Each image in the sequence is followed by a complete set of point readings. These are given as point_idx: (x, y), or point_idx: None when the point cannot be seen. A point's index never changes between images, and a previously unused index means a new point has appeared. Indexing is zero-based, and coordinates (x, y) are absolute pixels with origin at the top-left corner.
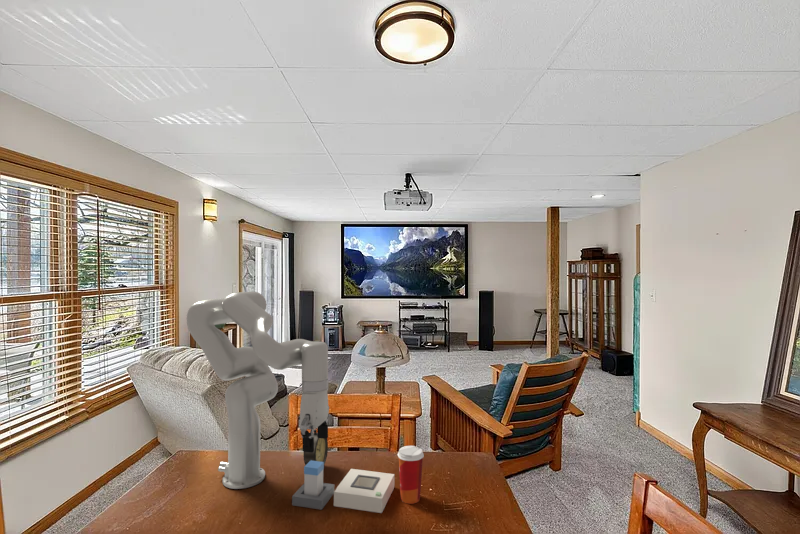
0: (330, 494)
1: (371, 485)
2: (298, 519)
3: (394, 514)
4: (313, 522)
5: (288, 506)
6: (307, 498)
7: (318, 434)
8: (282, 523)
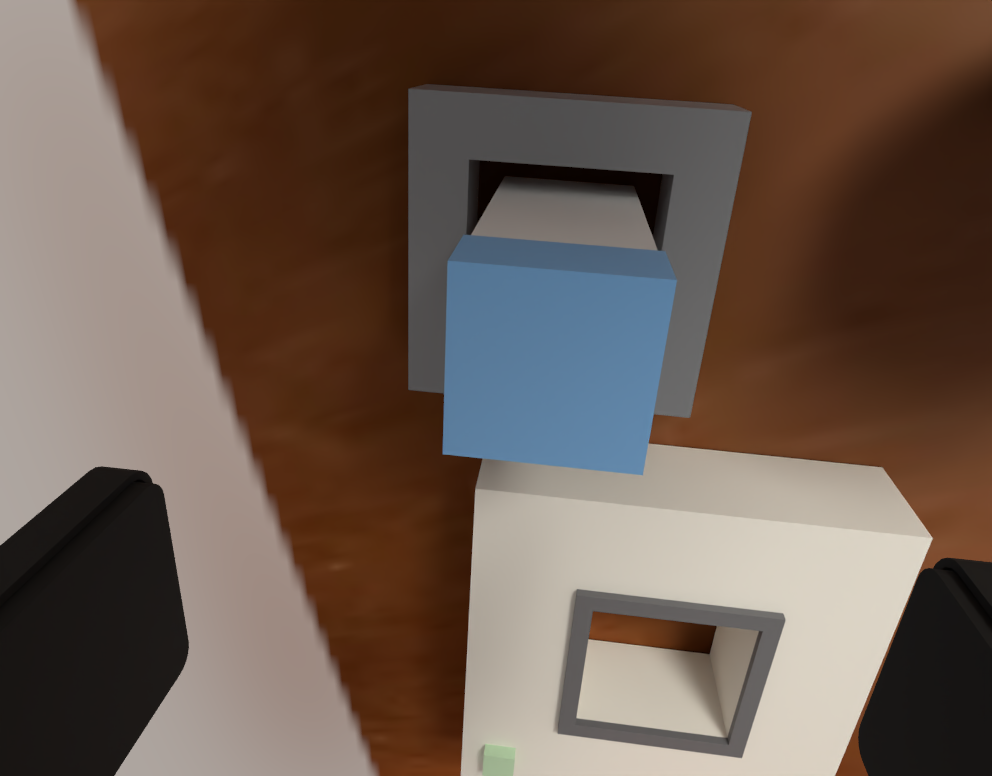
0: None
1: (727, 657)
2: (259, 229)
3: None
4: (264, 349)
5: (402, 56)
6: (410, 258)
7: (958, 647)
8: (170, 121)
